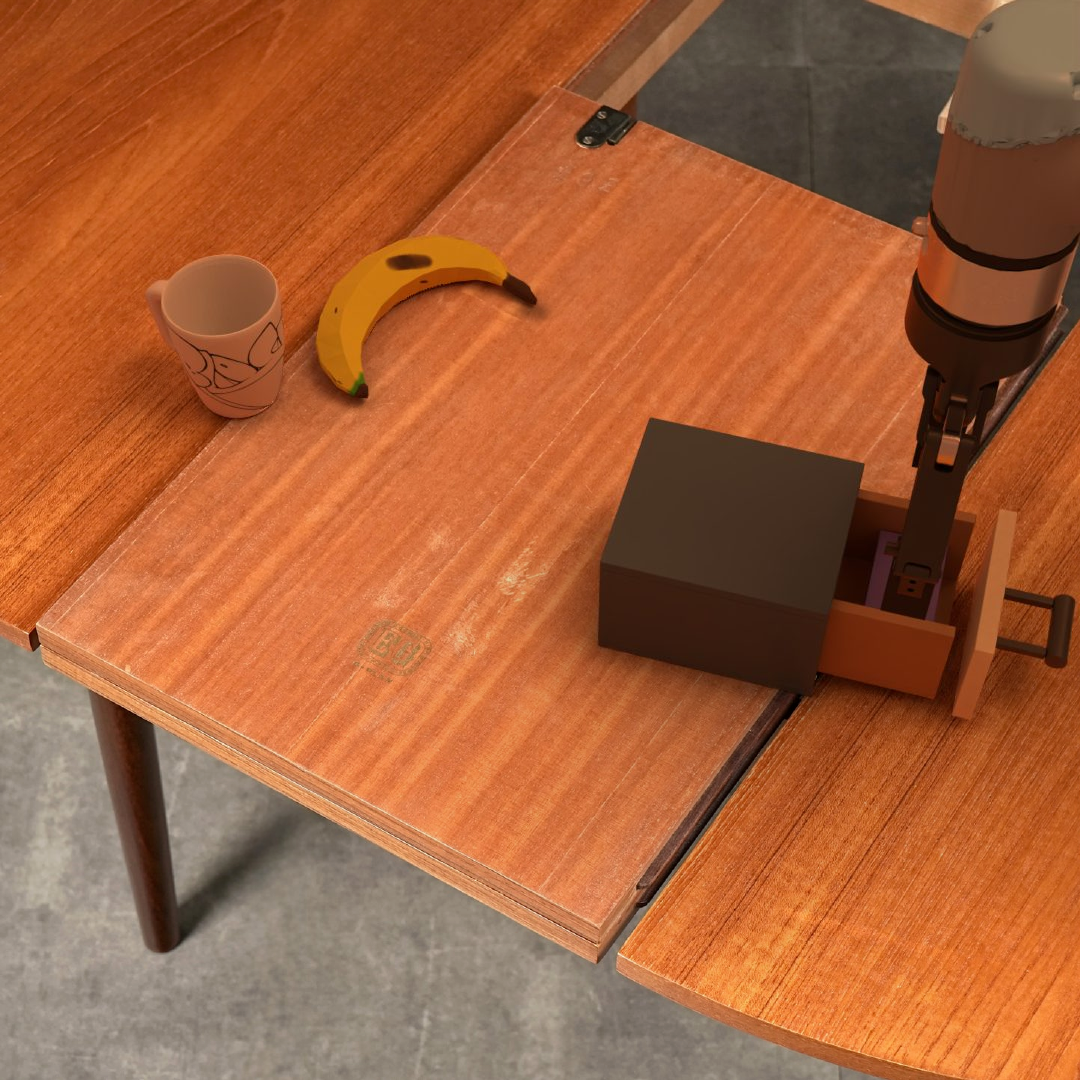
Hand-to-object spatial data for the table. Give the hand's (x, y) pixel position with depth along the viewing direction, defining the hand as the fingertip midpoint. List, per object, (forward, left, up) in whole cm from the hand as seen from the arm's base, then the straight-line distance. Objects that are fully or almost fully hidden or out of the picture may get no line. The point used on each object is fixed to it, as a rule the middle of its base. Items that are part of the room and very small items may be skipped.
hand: (918, 536), depth 106 cm
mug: (+53, -9, -11) cm, 55 cm away
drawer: (-2, 0, -10) cm, 10 cm away
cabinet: (+12, 0, -11) cm, 16 cm away
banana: (+40, -18, -11) cm, 45 cm away
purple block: (0, 0, -9) cm, 9 cm away
